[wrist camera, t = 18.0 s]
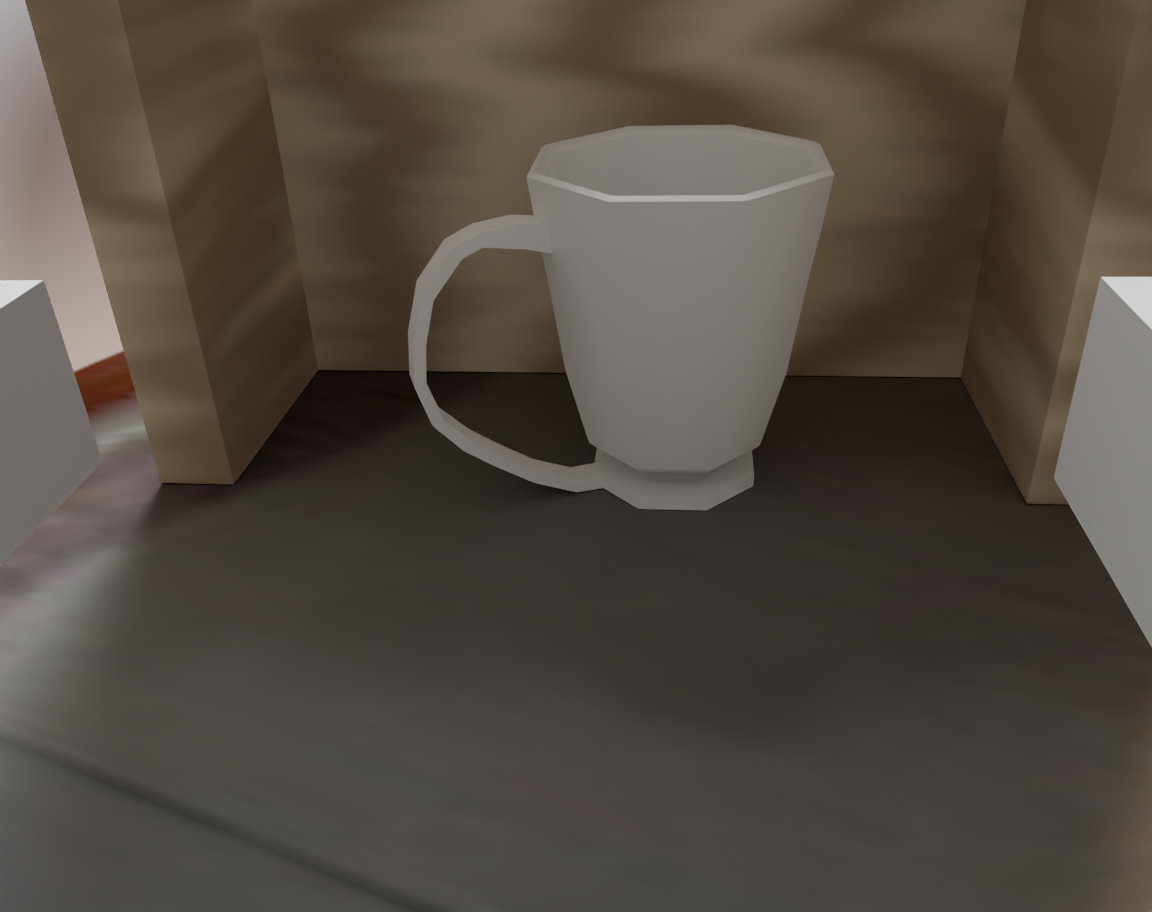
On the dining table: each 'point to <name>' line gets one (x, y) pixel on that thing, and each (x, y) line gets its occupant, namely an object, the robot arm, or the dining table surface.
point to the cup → (657, 301)
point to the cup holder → (574, 109)
